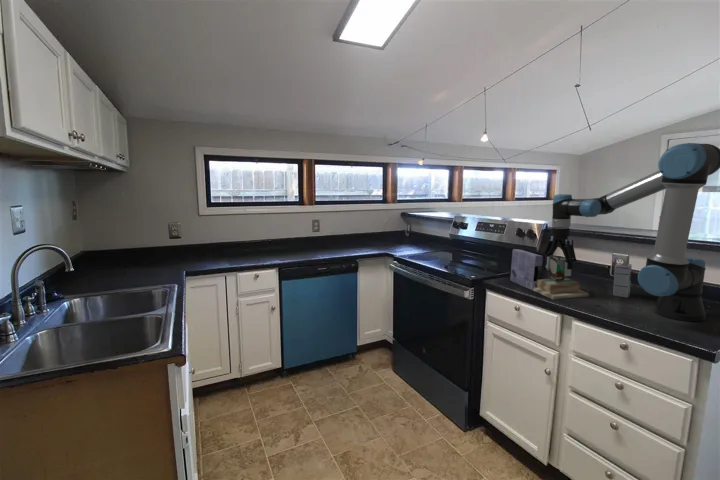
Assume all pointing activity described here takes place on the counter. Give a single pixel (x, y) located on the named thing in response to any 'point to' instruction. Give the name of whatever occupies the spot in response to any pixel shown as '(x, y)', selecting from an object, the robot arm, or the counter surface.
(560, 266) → the food container
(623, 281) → the syrup box
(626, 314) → the counter surface
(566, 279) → the base
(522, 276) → the cake pan box
